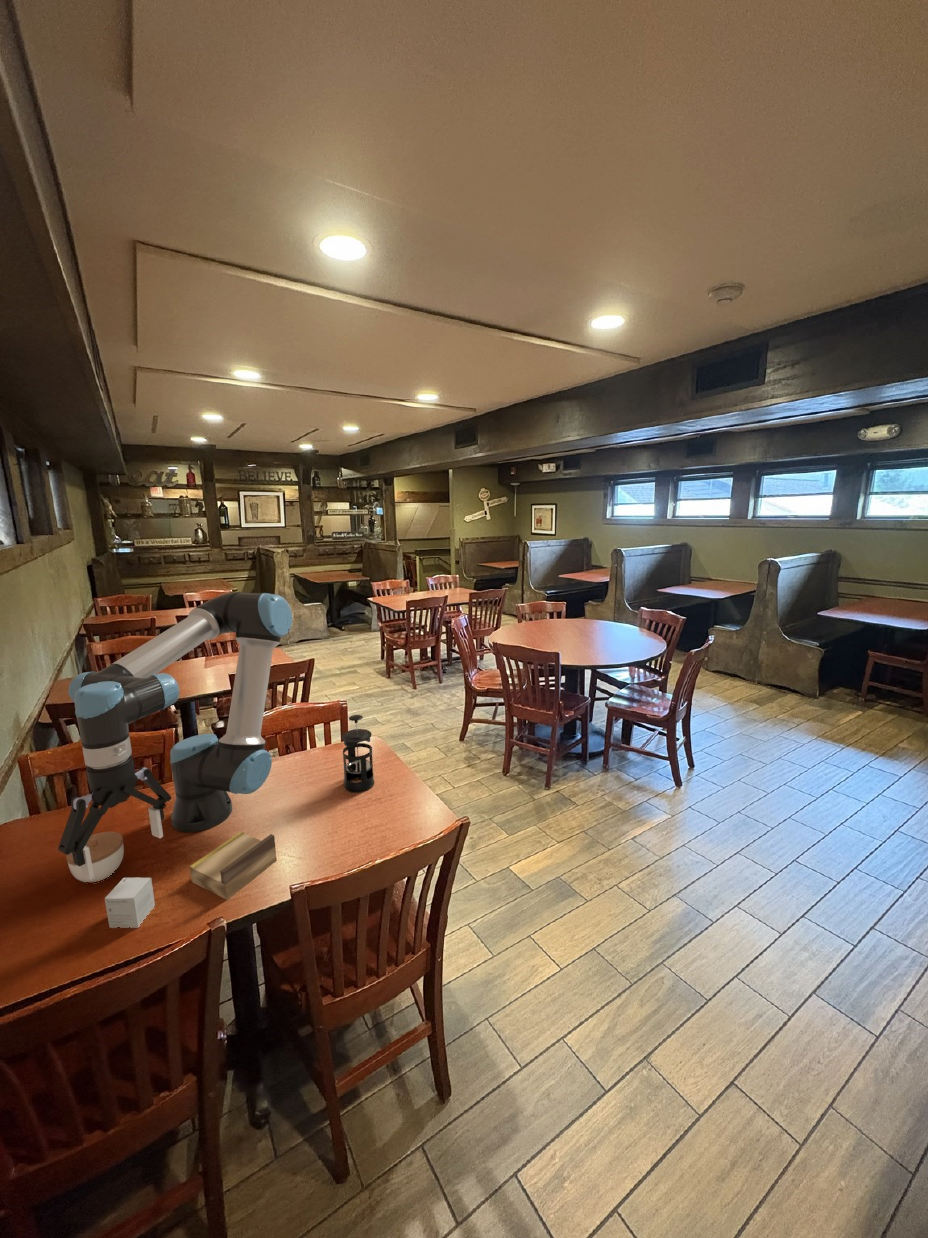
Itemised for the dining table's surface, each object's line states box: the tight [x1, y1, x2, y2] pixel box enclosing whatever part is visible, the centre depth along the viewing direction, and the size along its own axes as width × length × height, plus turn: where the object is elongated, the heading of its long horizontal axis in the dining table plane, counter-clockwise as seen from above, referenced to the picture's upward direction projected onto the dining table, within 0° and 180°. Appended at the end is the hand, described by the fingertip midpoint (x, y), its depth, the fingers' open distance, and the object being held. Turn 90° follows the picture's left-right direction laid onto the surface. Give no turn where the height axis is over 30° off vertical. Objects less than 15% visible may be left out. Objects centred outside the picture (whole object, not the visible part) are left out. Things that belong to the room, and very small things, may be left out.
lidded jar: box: [65, 831, 125, 883], centre depth 115 cm, size 11×11×9 cm
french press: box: [341, 714, 375, 794], centre depth 152 cm, size 12×9×23 cm
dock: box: [189, 831, 277, 901], centre depth 116 cm, size 12×14×7 cm
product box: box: [104, 876, 156, 929], centre depth 103 cm, size 6×6×7 cm
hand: (125, 855), depth 100 cm, fingers open, 13 cm apart
